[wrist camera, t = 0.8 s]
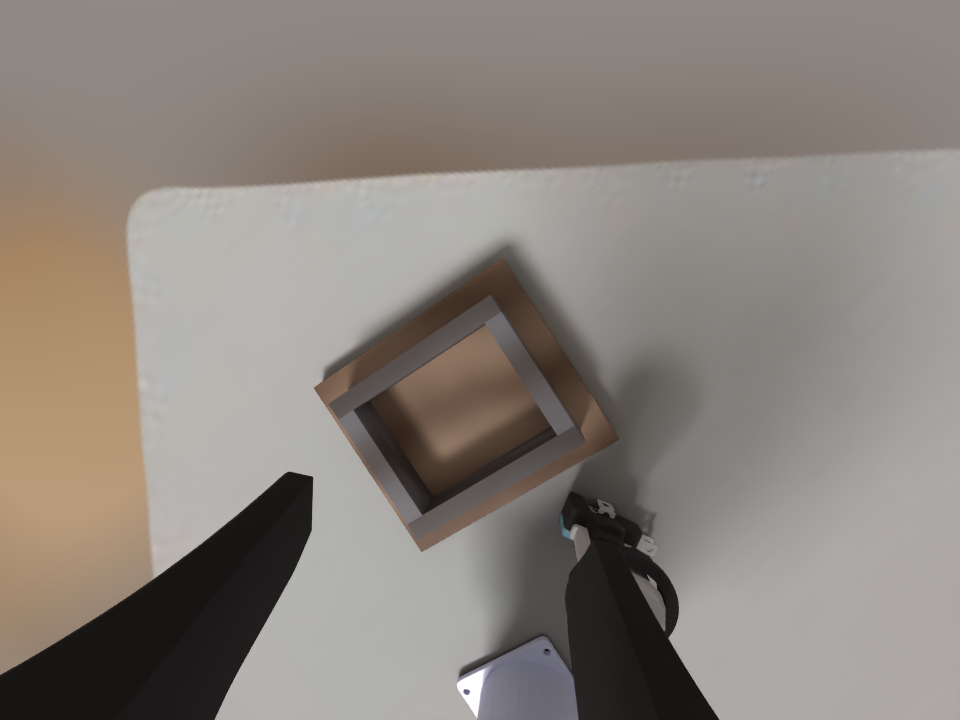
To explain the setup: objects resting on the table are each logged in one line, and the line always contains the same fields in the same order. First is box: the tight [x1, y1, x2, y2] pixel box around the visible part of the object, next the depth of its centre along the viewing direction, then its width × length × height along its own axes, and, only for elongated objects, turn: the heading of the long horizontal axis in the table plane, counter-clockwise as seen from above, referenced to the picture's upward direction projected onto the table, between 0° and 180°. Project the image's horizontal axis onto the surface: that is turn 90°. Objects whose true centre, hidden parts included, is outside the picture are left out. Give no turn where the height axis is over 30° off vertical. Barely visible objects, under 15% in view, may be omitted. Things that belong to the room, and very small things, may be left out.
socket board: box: [314, 258, 619, 552], centre depth 28 cm, size 14×16×4 cm
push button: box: [559, 492, 679, 638], centre depth 24 cm, size 7×5×10 cm
